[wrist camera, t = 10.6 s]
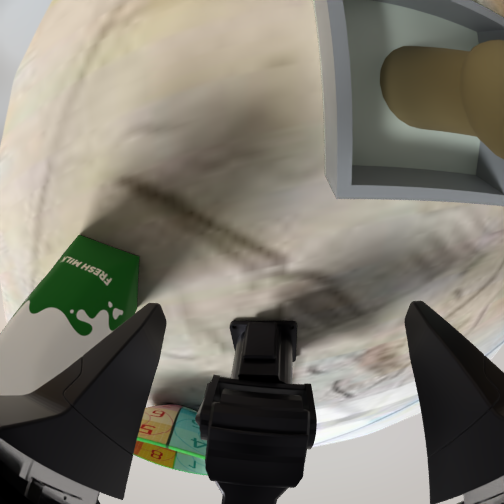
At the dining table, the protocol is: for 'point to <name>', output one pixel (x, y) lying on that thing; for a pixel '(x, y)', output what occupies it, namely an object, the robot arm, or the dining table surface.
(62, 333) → the milk carton
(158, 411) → the bowl
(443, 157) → the box
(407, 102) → the cork
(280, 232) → the dining table surface
